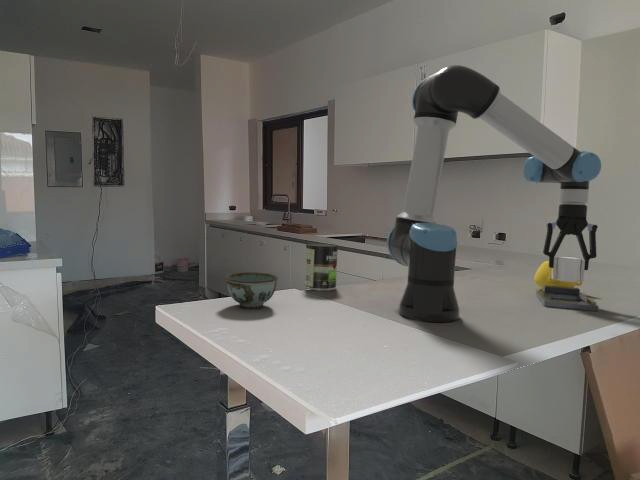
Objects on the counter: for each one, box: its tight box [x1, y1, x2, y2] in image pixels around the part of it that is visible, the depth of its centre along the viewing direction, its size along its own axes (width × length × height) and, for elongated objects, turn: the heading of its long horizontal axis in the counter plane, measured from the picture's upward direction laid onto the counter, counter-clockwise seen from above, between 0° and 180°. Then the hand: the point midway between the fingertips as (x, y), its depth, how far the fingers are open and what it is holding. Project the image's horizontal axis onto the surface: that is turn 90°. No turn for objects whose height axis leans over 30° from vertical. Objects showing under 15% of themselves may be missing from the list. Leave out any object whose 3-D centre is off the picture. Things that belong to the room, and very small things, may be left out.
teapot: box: [533, 255, 583, 291], centre depth 165 cm, size 20×15×12 cm
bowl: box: [225, 271, 279, 310], centre depth 127 cm, size 14×13×8 cm
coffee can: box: [304, 242, 339, 292], centre depth 156 cm, size 10×10×14 cm
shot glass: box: [555, 255, 582, 282], centre depth 146 cm, size 7×7×7 cm
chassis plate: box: [535, 285, 600, 312], centre depth 147 cm, size 18×14×4 cm
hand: (567, 279), depth 147 cm, fingers closed on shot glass, 7 cm apart
